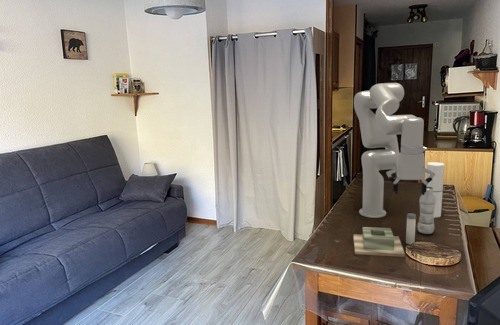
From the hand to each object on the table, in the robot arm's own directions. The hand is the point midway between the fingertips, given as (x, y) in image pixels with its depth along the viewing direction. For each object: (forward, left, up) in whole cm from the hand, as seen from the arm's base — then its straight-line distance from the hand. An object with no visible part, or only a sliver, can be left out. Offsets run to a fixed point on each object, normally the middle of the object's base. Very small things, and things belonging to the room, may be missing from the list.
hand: (409, 193), depth 147 cm
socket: (+3, -12, -21) cm, 24 cm away
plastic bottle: (-13, +9, -22) cm, 27 cm away
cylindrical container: (-35, +17, -22) cm, 45 cm away
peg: (-2, +1, -21) cm, 21 cm away
